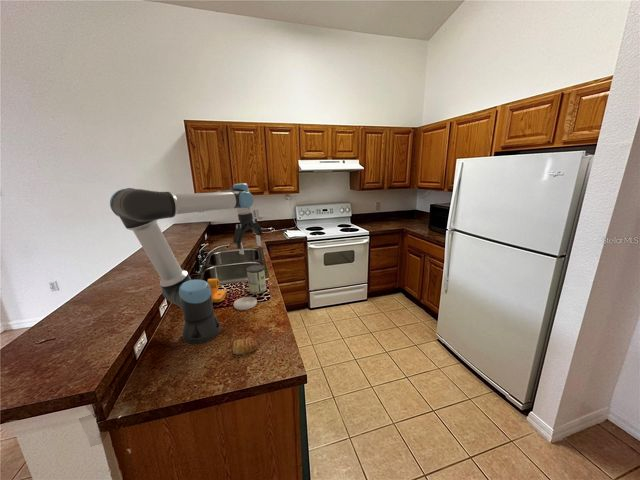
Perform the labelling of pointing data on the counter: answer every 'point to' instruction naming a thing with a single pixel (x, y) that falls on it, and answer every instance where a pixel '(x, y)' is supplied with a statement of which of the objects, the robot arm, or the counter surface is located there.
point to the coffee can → (256, 278)
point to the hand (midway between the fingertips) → (250, 249)
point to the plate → (245, 303)
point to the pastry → (244, 346)
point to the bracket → (216, 290)
